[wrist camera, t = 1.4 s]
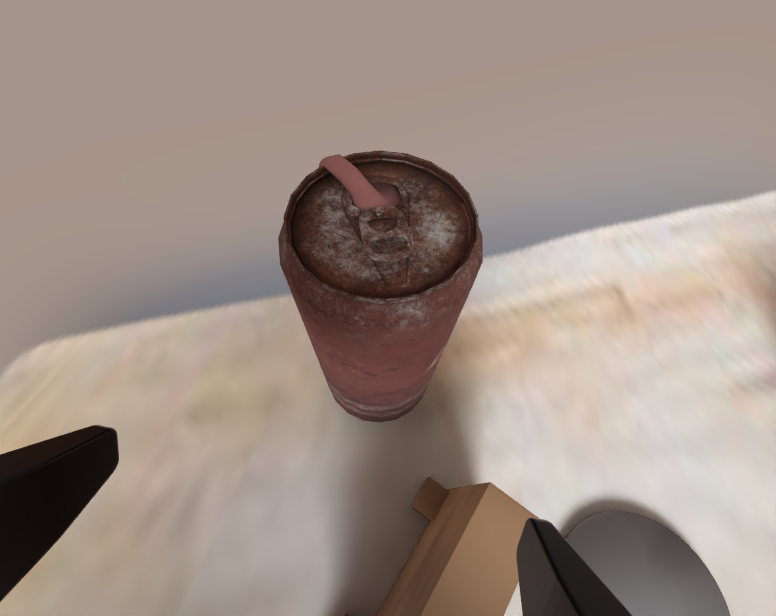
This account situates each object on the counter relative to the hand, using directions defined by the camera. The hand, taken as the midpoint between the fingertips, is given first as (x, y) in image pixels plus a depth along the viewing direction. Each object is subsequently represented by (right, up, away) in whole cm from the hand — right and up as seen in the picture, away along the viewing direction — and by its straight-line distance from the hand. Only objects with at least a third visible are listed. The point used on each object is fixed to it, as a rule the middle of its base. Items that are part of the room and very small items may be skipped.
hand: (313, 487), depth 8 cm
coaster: (+13, -10, +9) cm, 20 cm away
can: (+1, 0, +15) cm, 15 cm away
